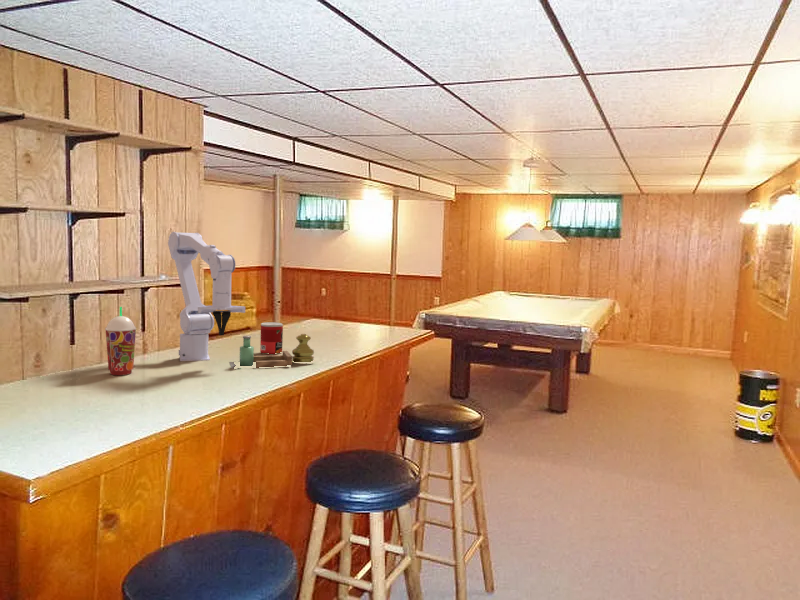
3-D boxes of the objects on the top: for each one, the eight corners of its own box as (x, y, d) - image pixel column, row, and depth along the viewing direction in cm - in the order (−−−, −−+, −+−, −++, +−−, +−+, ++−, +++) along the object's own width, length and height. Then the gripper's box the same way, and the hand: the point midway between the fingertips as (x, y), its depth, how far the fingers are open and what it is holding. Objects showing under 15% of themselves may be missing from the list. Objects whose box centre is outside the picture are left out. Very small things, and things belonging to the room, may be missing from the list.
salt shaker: (316, 361, 209) (316, 333, 208) (310, 365, 202) (311, 336, 201) (295, 360, 210) (295, 332, 209) (289, 364, 202) (289, 335, 202)
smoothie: (124, 377, 175) (124, 309, 173) (99, 375, 177) (98, 307, 175) (142, 371, 183) (142, 306, 181) (117, 369, 185) (117, 304, 183)
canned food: (279, 355, 217) (280, 325, 216) (257, 354, 217) (258, 324, 216) (284, 352, 225) (285, 322, 224) (263, 351, 225) (263, 321, 224)
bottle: (240, 366, 195) (240, 337, 194) (238, 363, 199) (239, 335, 198) (254, 366, 196) (254, 337, 195) (252, 363, 200) (253, 335, 199)
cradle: (232, 370, 190) (232, 358, 190) (229, 362, 201) (229, 351, 201) (292, 368, 197) (292, 356, 196) (286, 361, 208) (286, 350, 208)
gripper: (198, 293, 186) (198, 337, 187) (246, 294, 191) (245, 336, 192) (197, 291, 193) (197, 333, 194) (244, 292, 198) (243, 333, 199)
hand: (221, 334), depth 194 cm, fingers closed
